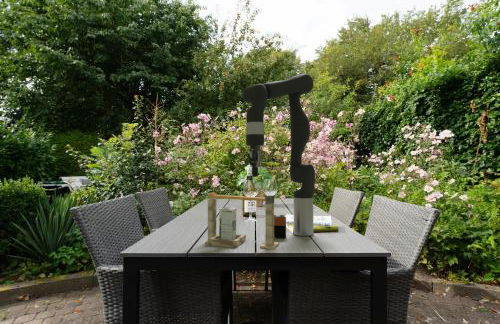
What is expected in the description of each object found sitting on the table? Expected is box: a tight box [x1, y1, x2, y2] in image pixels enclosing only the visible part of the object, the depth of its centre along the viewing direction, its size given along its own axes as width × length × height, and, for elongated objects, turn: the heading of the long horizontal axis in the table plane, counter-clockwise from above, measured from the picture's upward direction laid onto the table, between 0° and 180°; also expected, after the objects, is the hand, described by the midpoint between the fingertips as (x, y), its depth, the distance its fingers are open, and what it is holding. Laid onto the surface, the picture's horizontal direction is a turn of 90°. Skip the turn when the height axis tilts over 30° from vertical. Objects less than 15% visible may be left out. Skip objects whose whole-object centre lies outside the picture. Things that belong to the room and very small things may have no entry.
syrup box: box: [218, 207, 237, 240], centre depth 131 cm, size 6×6×14 cm
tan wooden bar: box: [207, 192, 265, 202], centre depth 130 cm, size 4×26×2 cm, turn 73°
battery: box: [274, 214, 287, 239], centre depth 142 cm, size 4×7×10 cm, turn 82°
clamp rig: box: [204, 195, 280, 250], centre depth 129 cm, size 12×30×20 cm, turn 73°
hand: (255, 176), depth 128 cm, fingers closed
